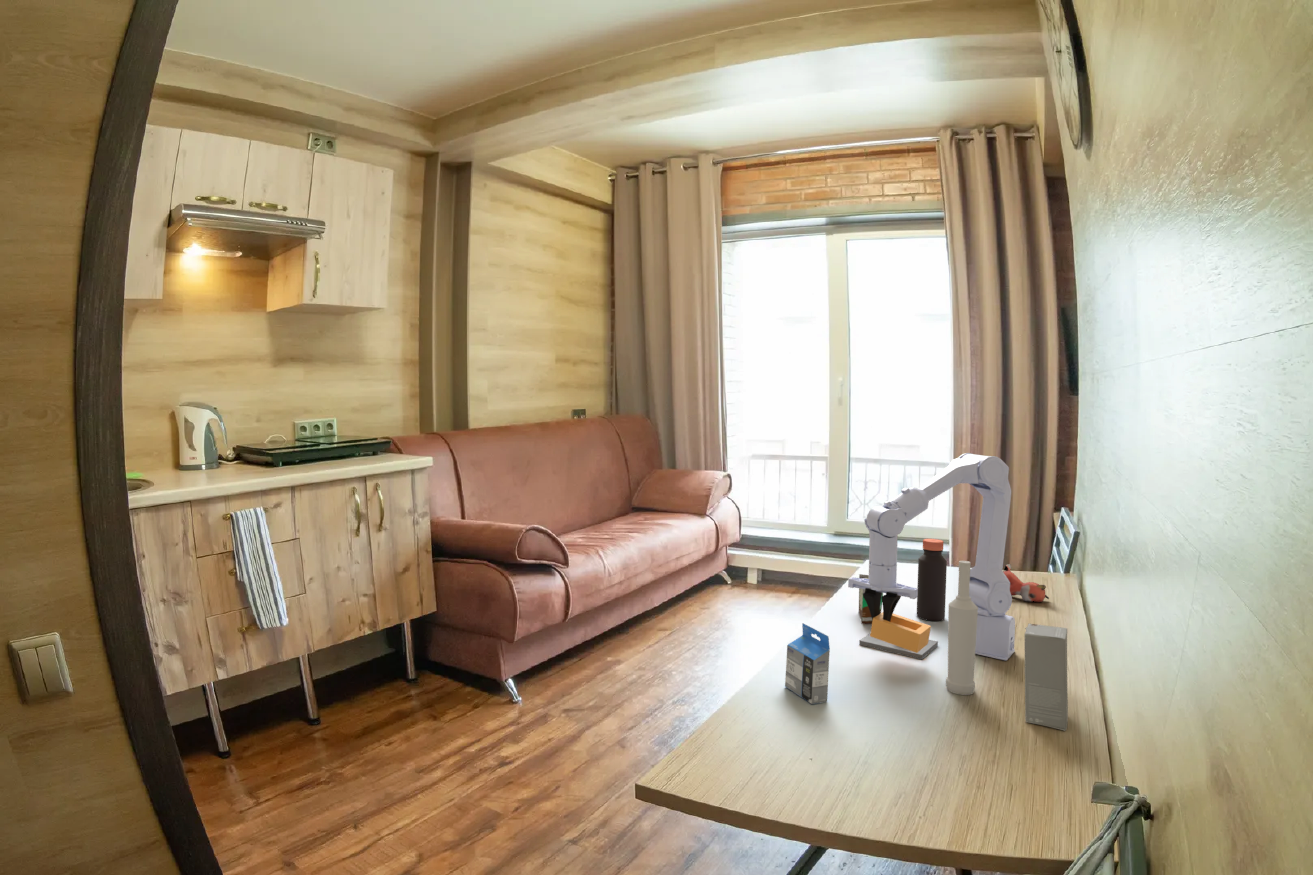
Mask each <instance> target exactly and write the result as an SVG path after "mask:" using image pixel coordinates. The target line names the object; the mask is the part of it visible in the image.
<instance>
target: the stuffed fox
mask: <svg viewBox="0 0 1313 875" xmlns="http://www.w3.org/2000/svg"><path fill="white" fill-rule="evenodd" d="M1002 571H1003V573H1004V574H1005V576H1006V577H1007V578H1008V580H1009V582H1010V593H1011V596H1021V599H1022V601H1024V602H1028V603H1032V602H1033V601H1034V602H1036V603H1042V602H1044V600H1045V599H1046V600H1050V597H1049V596H1048V595H1047V594H1046V588H1047V586H1046V585H1045V584H1040V583H1037V582H1034V581H1033V582H1032V581H1028V582H1023V581H1021V580H1020V579H1019V577H1018V576H1017V575H1016V574H1015V573H1013V572H1012V564H1010V563H1009V564H1006V565H1005V566H1004V569H1003V570H1002Z"/></svg>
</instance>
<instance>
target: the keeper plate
mask: <svg viewBox="0 0 1313 875" xmlns="http://www.w3.org/2000/svg"><path fill="white" fill-rule="evenodd" d="M938 643H939V641H938V640H933V639H929V641H928V644H927V645H926V646H925V647H924V648H922V649H921V650H920V651H919V652H918V653H916V652H913V651H910V650H907V649H904V648H902V647H899V646H896V645H893V644H890V643H888V642H885V641H882V640H879V639H876V638H874V637H871V636H870V633H868V634H867V635H865V636H864V637H863V638H860V639H859V645H860V646H862V647H863V646H864V647H867V648H872V649H876V650H880V651H885V652H889V653H892V654H898V655H901V656H906V657H911V658H914V659H919V660H923V659H924V658H925V657H927V656H929V654H930V653H931V652H932V651H933V650H935V649H936V648H937V647H938V646H939V644H938Z"/></svg>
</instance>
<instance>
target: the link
mask: <svg viewBox="0 0 1313 875" xmlns="http://www.w3.org/2000/svg"><path fill="white" fill-rule="evenodd" d="M931 629H932V626H931V625H929V624H927V623H923V622H920V621H917V620H914V619H911V618H908V617H905V616H903V615H899V614H896V613H893V614H892V617H891V621H890V622H889V621H886V620H883V611H881V614H879V615H878V616H876V617H874V618H873V621H872V624H871V628H870V633H869V634H870V636H871V637H874V638H876V639H879V640H882V641H885V642H888V643H890V644H893V645H896V646H899V647H902V648H904V649H907V650H910V651H913V652H916V653H918V652H919V651H920V650H921V649H922V648H924V647H925V646H926V645H927V644H928V641H929V640H930V635H931V634H930V633H931Z"/></svg>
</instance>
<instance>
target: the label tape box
mask: <svg viewBox="0 0 1313 875" xmlns="http://www.w3.org/2000/svg"><path fill="white" fill-rule="evenodd" d="M813 635H814V636H815V635H816V637H818V638H819V639H817V638H816V637H813ZM785 662H786V663H785V664H786V665H785V678H784V680H785V681H784V682H785V683H784V687H785V688H786V689H788V690H790V691H791V692H793V693H794V694H796V695H798V696H799V697H800V698H802V699H804V700H805V701H807V702H808V703H810V704H811V705H816V704H821V703H820V702H823V703H826V702H828V691H829V668H830V667H829V666H830V638H829V635H827V634H826V633H823V632H821V631H820V630H817V629H816V628H814V627H812V626H810V625H807V624H805V623H802V635H801V636H798V637H797V638H796V639H795V640H793V641H791V642H789V643H788V644H787V646H786V661H785Z"/></svg>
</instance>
